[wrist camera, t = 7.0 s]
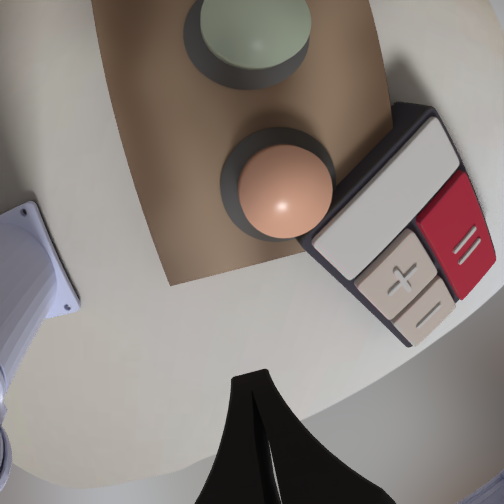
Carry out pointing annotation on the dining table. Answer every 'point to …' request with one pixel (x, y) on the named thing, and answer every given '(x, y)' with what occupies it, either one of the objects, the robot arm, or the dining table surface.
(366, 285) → the calculator
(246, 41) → the sage button
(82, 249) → the dining table surface
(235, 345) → the dining table surface
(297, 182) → the terracotta button
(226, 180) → the button panel
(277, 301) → the dining table surface
